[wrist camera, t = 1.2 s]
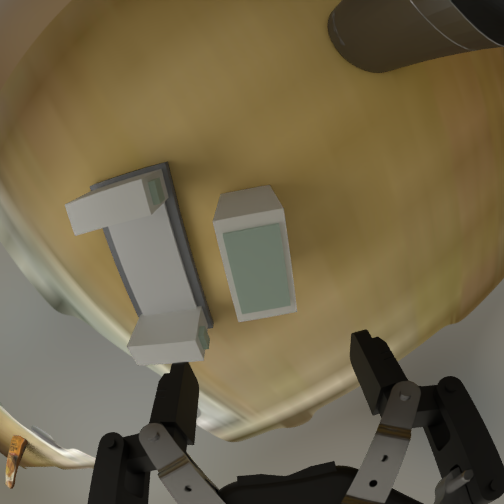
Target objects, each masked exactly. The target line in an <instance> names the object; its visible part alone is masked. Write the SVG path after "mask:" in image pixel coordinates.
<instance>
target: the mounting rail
mask: <svg viewBox="0 0 504 504" xmlns="http://www.w3.org/2000/svg"><path fill="white" fill-rule="evenodd" d="M90 189H91V191H90V192H88V193H86V194H84V195H82V196H80V197H78V198H77V199H75V200H73V201H71V202H69V203H67V204H65V207H66V210H67V213H68V216H69V219H70V222H71V225H72V228H73V231H74V234H75V236H76V235H80V234H83V233H86V232H90V231H93V230H97V229H100V228H103V231H104V234H105V237H106V239H107V242H108V245H109V248H110V250H111V253H112V256H113V258H114V261H115V264H116V266H117V269H118V271H119V274H120V276H121V278H122V281H123V283H124V286H125V288H126V290H127V293H128V295H129V297H130V299H131V302H132V304H133V306H134V308H135V310H136V313H137V315H138V317H139V320H138V322H137V324H136V326H135V329H134V331H133V333H132V336H131V338H130V340H129V343H128V345H127V348H128V350H129V351H130V353H131V355H132V356H133V358H134V360H135V361H136V363H137V364H138V365H156V364H171V363H177V362H194V361H204V354H205V349H209V342H210V338H209V336H208V333H207V330H208V329H209V328H213V324H214V323H213V320H212V317H211V314H210V311H209V308H208V304H207V301H206V298H205V295H204V292H203V289H202V286H201V282H200V279H199V276H198V273H197V269H196V266H195V263H194V259H193V256H192V252H191V249H190V246H189V242H188V239H187V235H186V231H185V228H184V224H183V220H182V217H181V213H180V209H179V205H178V202H177V198H176V194H175V190H174V186H173V182H172V178H171V174H170V169H169V165H168V162H164V163H160V164H157V165H153V166H150V167H146V168H143V169H139V170H136V171H133V172H130V173H126V174H123V175H120V176H117V177H114V178H111V179H108V180H105V181H102V182H100V183H97V184H94V185H92V186H90Z"/></svg>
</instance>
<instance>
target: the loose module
mask: <svg viewBox="0 0 504 504" xmlns="http://www.w3.org/2000/svg"><path fill="white" fill-rule="evenodd" d="M213 225H214V229H215V233H216V237H217V241H218V245H219V249H220V253H221V257H222V261H223V265H224V269H225V273H226V277H227V281H228V284H229V288H230V292H231V296H232V300H233V303H234V307H235V311H236V315H237V318H238V322H243V321H249V320H255V319H261V318H266V317H272V316H277V315H283V314H288V313H293V312H297V306H296V298H295V289H294V281H293V273H292V265H291V258H290V250H289V243H288V236H287V229H286V222H285V215H284V208H283V207H282V205H281V203H280V201H279V200H278V198H277V196H276V195H275V193H274V191H273V190H272V188H271V186H270V185H266V186H260V187H254V188H249V189H244V190H238V191H233V192H228V193H223V194H220V198H219V201H218V205H217V208H216V212H215V215H214V219H213Z"/></svg>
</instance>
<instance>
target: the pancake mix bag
mask: <svg viewBox="0 0 504 504" xmlns="http://www.w3.org/2000/svg"><path fill="white" fill-rule="evenodd" d="M27 443H28V442H27V440H25V439H24V438H22V437H21V436H13V437H12V440H11V445H10V449H9V454H8V459H7V465H6V484H5V485H6V486H8V487H9V488H10V489H11V488H13V487H14V484H15V477H16V473H17V469H18V466H19V463H20V461H21V458H22V456H23V453H24V451H25V448H26V445H27Z"/></svg>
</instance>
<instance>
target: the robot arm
mask: <svg viewBox="0 0 504 504" xmlns="http://www.w3.org/2000/svg"><path fill="white" fill-rule="evenodd" d="M328 32H329V36H330V38H331V41H332V43H333V44H334V46H335V48H336V49H337V50H338V52H339V53H340V54H341V55H342V56H343V57H344V58H345V59H346V60H348V61H349V62H350V63H352V64H353V65H355V66H356V67H358V68H361V69H363V70H365V71H369V72H373V73H383V72H388V71H391V70H394V69H398V68H401V67H405V66H409V65H412V64H416V63H420V62H423V61H427V60H432V59H436V58H440V57H445V56H449V55H454V54H459V53H464V52H470V51H476V50H481V49H489V48H497V47H504V0H342V1H341V2H340V3H339V4H338V5H337V7H336V8H335V9H334V10H333V11H332V12H331V14H330V16H329V19H328ZM350 360H351V364H352V367H353V369H354V372H355V374H356V376H357V379H358V381H359V383H360V386H361V388H362V390H363V393H364V395H365V398H366V400H367V402H368V405H369V407H370V410H371V413H372V415H376V414H380V416H381V418H382V419H381V422H380V424H379V426H378V429H377V431H376V434H375V436H374V438H373V441H372V443H371V445H370V448H369V450H368V452H367V454H366V457H365V458H364V461H363V463H362V465H361V467H360V469H359V470H358V469H356V468H353V467H348V466H335V462H334V461H333V462H328V463H324V464H319V465H315V466H310V467H308V468H306V469H303V470H301V471H299V472H296V473H294V474H291V475H289V476H276V475H264V474H257V475H246V476H237V481H236V482H233V483H231V484H228V485H226V486H224V487H223V488H221V489H220V490H219V489H218V488H217V487H216V485H215V484H214V483H213V482H212V481H211V480H209V478H208V477H207V476H206V475H205V474H204V473H203V471H202V470H201V469H200V468H199V467H198V466H197V464H196V463H195V462H194V461H193V460H192V458H191V457H190V456H189V454H188V453H187V452H186V448H187V445H194V441H195V428H196V418H197V408H198V398H199V384H198V381H197V379H196V377H195V375H194V373H193V371H192V369H191V367H190V365H189V363H188V362H177V363H172V365H171V370H170V373H165V374H164V375H163V376H162V378H161V379H160V381H159V384H158V387H157V392H156V396H155V397H156V398H155V400H154V405H153V409H152V413H151V418H150V422H149V424H148V425H146V426H144V427H143V428H142V429H141V431H140V433H138V434H135V435H131V436H126V437H122V436H121V435H120V434H118V433H115V432H111V433H107V434H105V435H104V436H103V437H102V438H101V440H100V442H99V447H98V451H97V455H96V460H95V465H94V470H93V475H92V481H91V486H90V492H89V498H88V504H148V495H149V482H150V471H152V470H158V472H159V473H158V476H159V478H160V480H161V481H162V483H163V484H164V486H165V487H166V488H167V490H168V491H169V493H170V494H171V495H172V497H173V498H174V499H175V501H176V502H177V503H178V504H423V503H421V502H419V501H417V500H415V499H413V498H411V497H409V496H406V495H404V494H403V493H400V492H398V491H397V490H395V489H393V488H392V486H393V484H394V482H395V479H396V477H397V474H398V472H399V469H400V467H401V464H402V462H403V459H404V456H405V453H406V451H407V448H408V445H409V442H410V438H411V429H412V428H416V427H423V428H424V431H425V433H426V435H427V438H428V441H429V443H430V446H431V449H432V452H433V454H434V457H435V460H436V463H437V466H438V468H439V471H440V474H441V477H442V479H441V480H440V481H439V483H438V484H437V486H436V488H435V502H434V504H488V503H490V502H492V501H494V500H495V499H497V498H499V497H500V496H501V495H502V494H503V493H504V466H503V464H502V461H501V458H500V456H499V454H498V451H497V449H496V447H495V445H494V443H493V440H492V438H491V436H490V434H489V432H488V430H487V428H486V426H485V424H484V422H483V420H482V418H481V416H480V414H479V412H478V410H477V408H476V406H475V405H474V403H473V401H472V400H471V397H470V396H469V394H468V392H467V390H466V389H465V387H464V385H463V383H462V382H461V381H460V380H459V379H458V378H456V377H453V376H448V377H444V378H443V379H441V380H440V381H439V383H438V385H432V386H418V385H417V384H415V383H414V382H411V381H408V379H407V378H406V376H405V374H404V373H403V371H402V369H401V367H400V365H399V364H398V362H397V360H396V358H395V357H394V355H393V353H392V352H391V351H390V348H389V347H388V345H387V343H386V342H385V341H383V340H382V339H381V338H379V337H375V338H372V337H371V335H370V334H369V332H368V330H362V331H358V332H354V333H352V334H351V345H350Z"/></svg>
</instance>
